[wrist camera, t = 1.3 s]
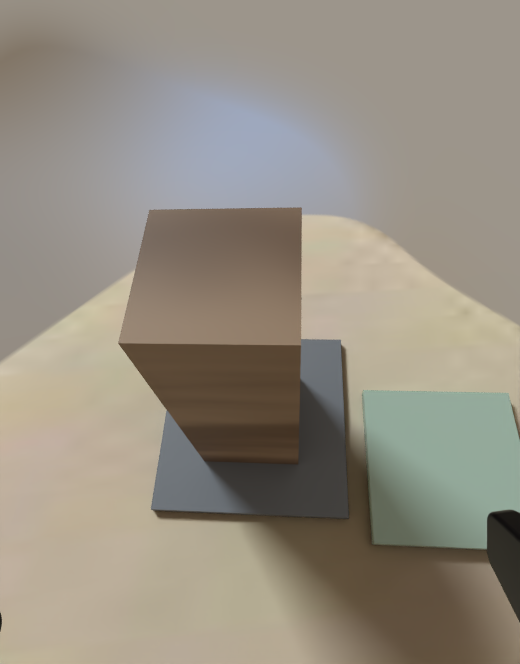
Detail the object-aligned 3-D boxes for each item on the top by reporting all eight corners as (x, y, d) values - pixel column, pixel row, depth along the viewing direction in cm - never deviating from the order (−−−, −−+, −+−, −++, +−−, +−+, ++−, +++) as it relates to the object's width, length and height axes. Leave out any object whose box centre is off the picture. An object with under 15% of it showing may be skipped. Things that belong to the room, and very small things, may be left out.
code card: (347, 518, 20) (348, 517, 20) (153, 510, 21) (150, 509, 20) (340, 343, 25) (340, 339, 24) (179, 341, 25) (178, 338, 25)
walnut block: (298, 464, 21) (301, 345, 11) (204, 461, 21) (117, 343, 11) (298, 376, 23) (301, 207, 13) (213, 375, 24) (149, 209, 13)
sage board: (539, 552, 19) (546, 551, 18) (372, 544, 20) (374, 543, 19) (503, 397, 22) (508, 392, 22) (361, 394, 23) (363, 390, 22)
